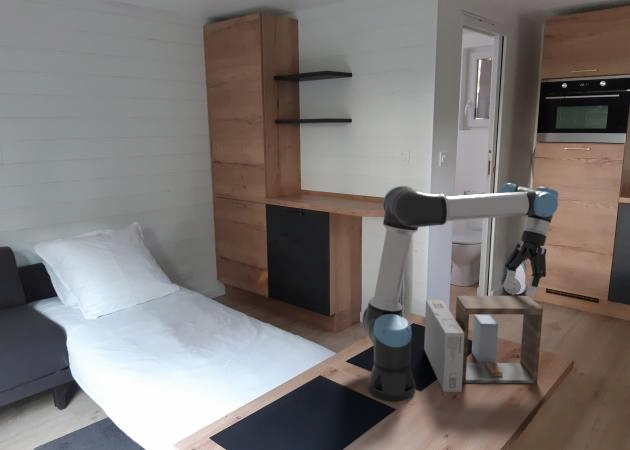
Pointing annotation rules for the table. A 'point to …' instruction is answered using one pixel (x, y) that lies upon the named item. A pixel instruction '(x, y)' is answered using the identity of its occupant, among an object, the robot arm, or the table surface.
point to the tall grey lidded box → (484, 338)
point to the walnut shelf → (529, 346)
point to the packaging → (444, 345)
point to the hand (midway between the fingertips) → (518, 292)
